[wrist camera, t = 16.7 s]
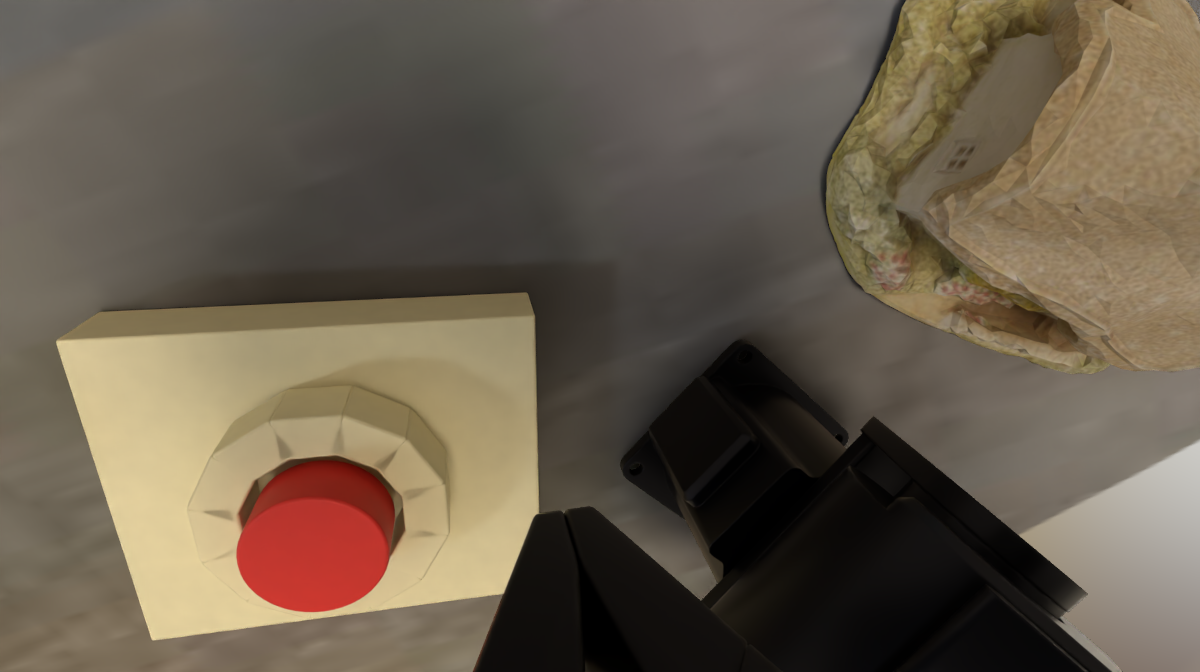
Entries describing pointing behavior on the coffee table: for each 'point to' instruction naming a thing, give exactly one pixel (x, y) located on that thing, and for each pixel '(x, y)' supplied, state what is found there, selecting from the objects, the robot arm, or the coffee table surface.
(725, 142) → the coffee table surface
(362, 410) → the button block
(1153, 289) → the ceramic model
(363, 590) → the button
